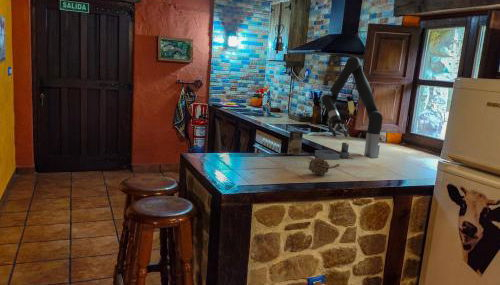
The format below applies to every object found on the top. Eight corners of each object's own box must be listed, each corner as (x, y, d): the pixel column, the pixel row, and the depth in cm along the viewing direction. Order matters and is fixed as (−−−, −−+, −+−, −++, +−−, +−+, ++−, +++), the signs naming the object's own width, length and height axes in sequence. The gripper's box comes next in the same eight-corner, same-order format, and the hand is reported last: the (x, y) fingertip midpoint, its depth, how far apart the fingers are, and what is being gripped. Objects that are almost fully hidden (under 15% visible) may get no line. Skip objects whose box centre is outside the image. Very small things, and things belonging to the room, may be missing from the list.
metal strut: (345, 156, 288) (346, 142, 286) (348, 158, 284) (350, 143, 282) (339, 156, 286) (340, 142, 285) (342, 158, 282) (344, 143, 280)
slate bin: (329, 157, 289) (330, 150, 288) (339, 161, 277) (339, 154, 276) (314, 157, 285) (315, 150, 285) (323, 161, 273) (323, 154, 273)
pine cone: (314, 178, 229) (316, 160, 227) (303, 173, 237) (305, 156, 235) (343, 174, 241) (345, 158, 239) (331, 170, 249) (333, 154, 247)
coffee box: (287, 154, 288) (289, 131, 285) (287, 152, 295) (289, 130, 292) (300, 155, 287) (303, 132, 285) (300, 154, 294) (302, 131, 291)
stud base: (346, 157, 292) (347, 151, 291) (354, 161, 282) (355, 154, 281) (332, 157, 289) (333, 151, 288) (340, 161, 278) (341, 154, 278)
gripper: (328, 114, 293) (334, 132, 284) (345, 114, 297) (352, 133, 288) (323, 120, 299) (329, 139, 290) (341, 121, 303) (347, 139, 294)
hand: (340, 136), depth 289 cm, fingers open, 8 cm apart
